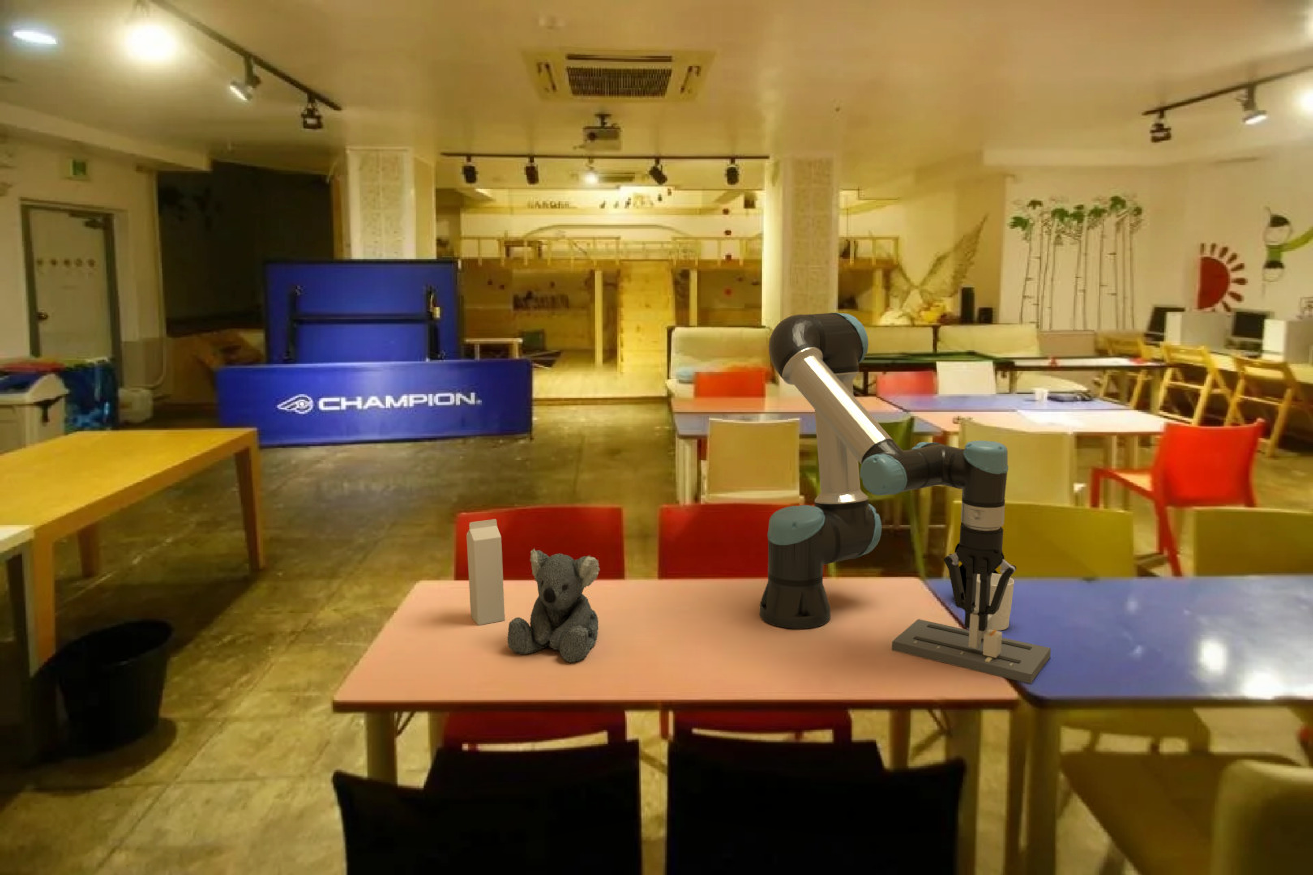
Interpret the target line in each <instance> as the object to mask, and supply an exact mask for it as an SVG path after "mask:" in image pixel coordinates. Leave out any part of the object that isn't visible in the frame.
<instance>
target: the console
mask: <svg viewBox="0 0 1313 875" xmlns="http://www.w3.org/2000/svg"><path fill="white" fill-rule="evenodd" d="M969 630H970V629H967V628H966V629H965V628H961V627H956V626H952V625H947V624H943V623H938V622H933V621H930V620H926V619H921V618H917V619H916V620H915V621H914V622H913V623H912V624H911V625H909V626H908V627H907V628H906V629H905V630H904V631H902V632H901V633H900V634H899V635H898V636H897V637H895V638H894V639H893V640H892V641H891V651H895V652H899V653H902V654H907V655H911V656H916V657H919V658H925V659H928V660H932V661H936V662H940V663H944V664H949V665H952V666H957V667H959V668H960V667H961V668H965V669H969V670H971V671H972V670H973V671H977V672H981V673H985V674H989V675H993V676H997V677H1000V678H1001V677H1002V678H1004V679H1005V678H1006V679H1008V680H1009V679H1010V680H1013V681H1016V682H1017V681H1018V682H1020V683H1021V682H1023V683H1026V684H1031V685H1032V683H1033V682H1034V680H1035V679H1036V678H1037V675H1038V674H1040V672H1041V671H1042V669H1043V668H1044V667H1045V665H1046V663H1048V661H1049V659H1050V658H1051V650H1052V649H1051V647H1048V646H1042V645H1038V644H1033V643H1029V642H1025V641H1020V640H1016V639H1011V638H1007V637H1002V641H1001V653H1000V654H999V655H998V656H997V657H996V658H995V657H991V656H986V655H983V644H984V639H982V638H981V644H980V645H979V646H978V647H977V648H972V647H969Z"/></svg>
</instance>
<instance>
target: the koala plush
mask: <svg viewBox="0 0 1313 875" xmlns="http://www.w3.org/2000/svg"><path fill="white" fill-rule="evenodd" d="M529 562H531V563H530V564H531V570H532V573H531V575H533V576H534V581H535V583H537V592H538V596H537V598H536V599H535V601H534V604H533V607H532V610H531V613H530V620H529V621H530V622H527V620H525V619H524V618H522V617H520V616H519V617H514V618H513V619H511V621H509V623H508V628H507V629H508V630H507V631H508V632H507V637H506V638H507V647H508V648H509V649H510V650H511V651H513V652H514V653H516V654H521V655H527V654H532V653H536V652H539V651H541V650H543V649H546V648H548V647H550V648H551V649H552V650H555V651H559V654H560V656H561V658H562V659H563V660H564V661H565V662H568V663H575V662H580V661H581V660H583V659H584V658H586V657H587V655H588V653H590V651H591V648H593V647H594V646H595V645H596V643H597V641H598V640H597V638H598V636H599V634H598V633H599V631H598V630H599V618H598V614H597V613H596V611H595V610H593V609H592V608H591V606H592V605H591V604H590V602H589V598H588V597H587V596H586V595H585V594H583V592H584V590H585V588H587V587H590V586H591V585H592V584H593V583H594V581H595V580H597V578H598V575H599V572H600V571H601V569H600V567H599V566H600V564H599V559H596V557H593V556H591V555H587V556H586V555H585V556H581V557H579V558H578V559H574V558H573V557H571V556H570V555H568V554H563V553H555V554H552V555H550V556H549V555H548V554H547V553H544V552H543V551H542V550H535V547H534V548H533V549H532V550H531V551H530V559H529Z"/></svg>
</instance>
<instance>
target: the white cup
mask: <svg viewBox="0 0 1313 875" xmlns="http://www.w3.org/2000/svg"><path fill="white" fill-rule="evenodd" d="M1001 575H1002V573H999V574H994V573H992V577H991V585H990V602H989V606H990V605H991V602H992V599H993V596H994V593H995V591H996V588H997V585H998V582H999V579H1000V577H1001ZM1014 585H1015V580H1014V578H1011V577H1010V578H1009V581H1008V584H1007V587H1006V590H1005V593H1004V596H1003V599H1002V601H1001V604H1000V607H999V610H998V611H997V612H996V613H995V614H993V618H992V630H997V631H1004V630H1007V628H1009V626H1010V625H1009V624H1010V616H1011V613H1012V605H1013V595H1014V587H1015V586H1014ZM979 597H980V574H977V584H976V599H975V605H976V607H975V608H974V610H979ZM988 615H992V614H988Z"/></svg>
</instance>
